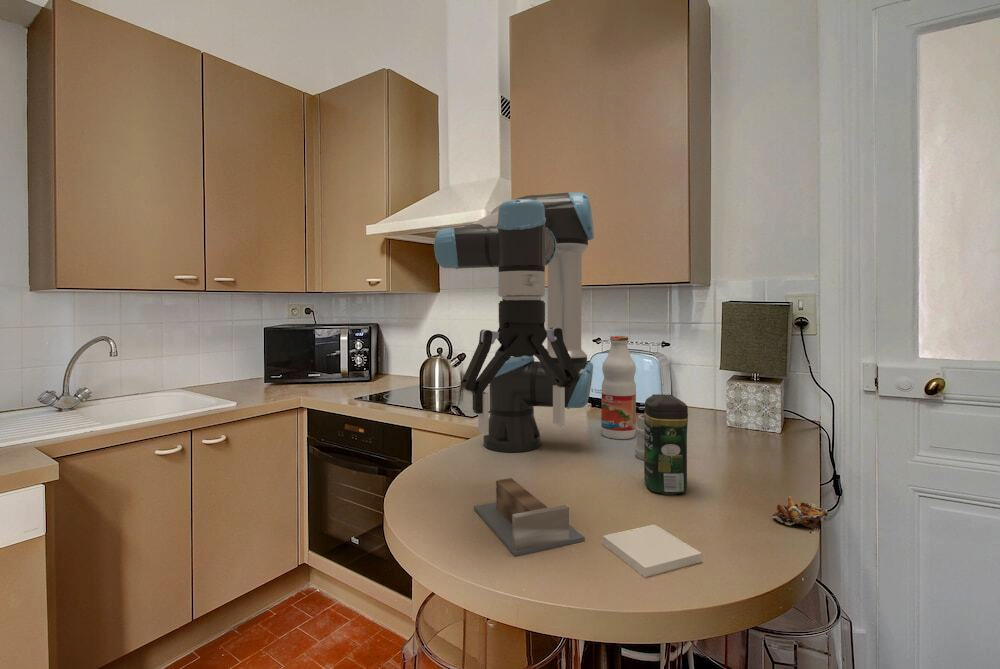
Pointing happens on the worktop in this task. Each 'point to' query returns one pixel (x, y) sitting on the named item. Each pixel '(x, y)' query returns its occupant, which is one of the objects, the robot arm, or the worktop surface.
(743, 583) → the worktop surface
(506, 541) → the mat
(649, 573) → the tile
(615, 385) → the fruit juice
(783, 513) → the pastry
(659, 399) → the coffee jar
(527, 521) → the scraper
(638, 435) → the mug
